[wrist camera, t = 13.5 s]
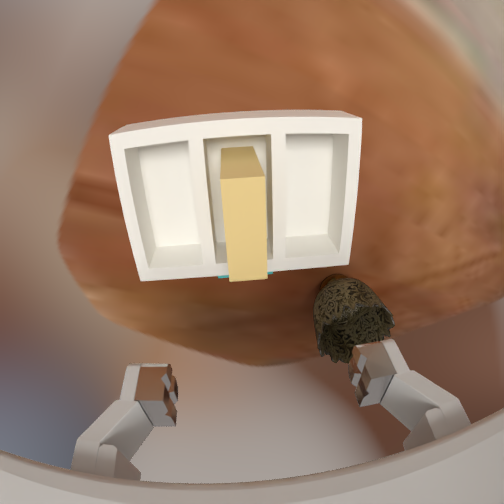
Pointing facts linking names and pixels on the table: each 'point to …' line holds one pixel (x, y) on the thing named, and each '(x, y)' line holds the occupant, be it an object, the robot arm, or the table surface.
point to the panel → (244, 213)
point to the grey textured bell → (348, 317)
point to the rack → (209, 188)
